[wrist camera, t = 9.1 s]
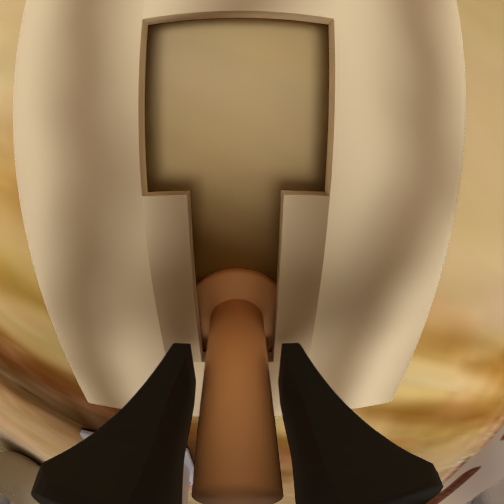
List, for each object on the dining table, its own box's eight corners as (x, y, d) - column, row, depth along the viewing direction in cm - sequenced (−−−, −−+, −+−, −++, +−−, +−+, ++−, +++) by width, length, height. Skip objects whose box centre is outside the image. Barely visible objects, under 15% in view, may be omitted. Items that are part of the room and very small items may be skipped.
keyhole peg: (201, 355, 15) (183, 517, 7) (174, 277, 13) (112, 460, 5) (292, 342, 15) (326, 507, 7) (280, 259, 13) (331, 449, 5)
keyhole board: (98, 380, 16) (88, 402, 14) (51, -3, 7) (30, -14, 5) (380, 379, 17) (390, 401, 15) (431, -2, 8) (453, -13, 6)
